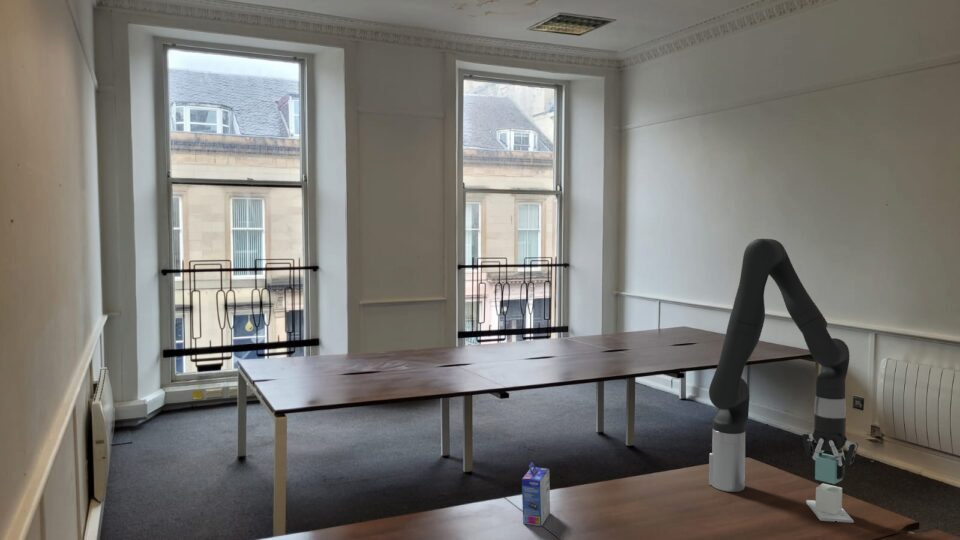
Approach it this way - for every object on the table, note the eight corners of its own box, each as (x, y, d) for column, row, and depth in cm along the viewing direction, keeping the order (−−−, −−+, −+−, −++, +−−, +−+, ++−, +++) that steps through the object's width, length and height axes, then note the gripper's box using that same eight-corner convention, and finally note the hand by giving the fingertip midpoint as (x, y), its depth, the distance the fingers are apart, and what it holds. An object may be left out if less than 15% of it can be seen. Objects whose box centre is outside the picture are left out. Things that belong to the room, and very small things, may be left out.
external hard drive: (837, 507, 189) (853, 525, 177) (806, 505, 190) (820, 523, 178) (837, 501, 189) (853, 519, 177) (806, 499, 190) (820, 517, 178)
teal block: (815, 479, 182) (815, 457, 182) (823, 475, 186) (823, 453, 185) (834, 484, 179) (834, 461, 178) (842, 479, 182) (842, 457, 182)
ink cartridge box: (530, 510, 185) (530, 457, 185) (550, 512, 184) (550, 459, 183) (521, 524, 176) (521, 469, 176) (541, 527, 174) (542, 471, 174)
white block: (815, 509, 183) (815, 487, 183) (822, 504, 187) (822, 483, 187) (835, 514, 180) (835, 492, 180) (841, 509, 183) (842, 487, 183)
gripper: (796, 410, 185) (795, 472, 185) (852, 421, 174) (851, 486, 174) (809, 406, 189) (808, 466, 190) (864, 416, 178) (863, 480, 179)
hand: (828, 475), depth 182 cm, fingers closed on teal block, 5 cm apart
